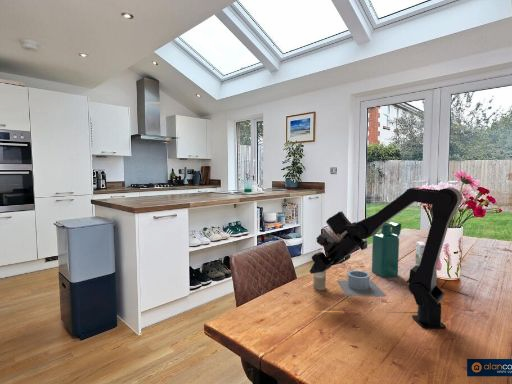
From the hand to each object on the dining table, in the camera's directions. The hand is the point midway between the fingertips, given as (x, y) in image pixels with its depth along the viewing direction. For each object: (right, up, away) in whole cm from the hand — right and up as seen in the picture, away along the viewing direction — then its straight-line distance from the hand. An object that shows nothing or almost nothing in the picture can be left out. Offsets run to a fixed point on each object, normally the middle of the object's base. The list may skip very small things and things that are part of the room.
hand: (317, 269), depth 110 cm
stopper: (+1, -7, 0) cm, 7 cm away
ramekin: (+16, -7, +1) cm, 17 cm away
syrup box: (+46, -6, +10) cm, 48 cm away
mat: (+16, -7, -1) cm, 17 cm away
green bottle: (+32, -6, +15) cm, 36 cm away
